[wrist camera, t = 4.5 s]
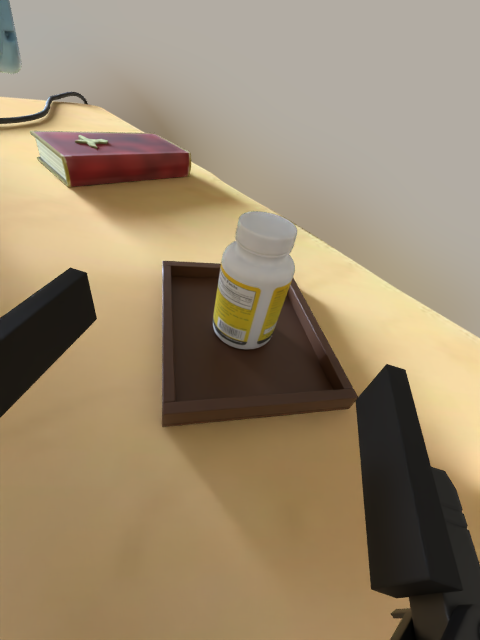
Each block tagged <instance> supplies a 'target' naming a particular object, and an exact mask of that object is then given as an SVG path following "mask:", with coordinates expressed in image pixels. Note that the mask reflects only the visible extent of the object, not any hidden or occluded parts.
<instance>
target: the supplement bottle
mask: <svg viewBox="0 0 480 640" xmlns="http://www.w3.org/2000/svg"><path fill="white" fill-rule="evenodd" d="M296 236H297V228H296V226H295V225H294V224H293V223H291V222H290V221H289V220H287V219H285V218H283V217H281V216H278V215H275V214H271V213H267V212H258V211H253V212H247V213H244V214H242V215H241V216H240V217H239V221H238V225H237V230H236V237H235V239H236V241H234V242H233V243H231V244H230V245H228V246H227V247H226V249H225V251H224V253H223V256H222V260H221V267H220V274H219V281H218V288H217V294H216V301H215V308H214V315H213V328H214V331H215V333H216V335H217V336H218V337H219V338H220V339H221V340H222V341H223V342H224V343H226V344H228V345H230V346H232V347H235V348H238V349H256V348H259V347H261V346H263V345H265V344H266V343H267V342H268V341H269V340H270V338H271V336H272V334H273V331H274V329H275V326H276V323H277V320H278V317H279V315H280V312H281V309H282V306H283V303H284V301H285V298H286V295H287V292H288V290H289V287H290V284H291V282H292V279H293V275H294V271H295V265H294V262H293V259H292V258H291V256H290V255H289V253H290V252H291V250H292V249H293V246H294V242H295V239H296Z"/></svg>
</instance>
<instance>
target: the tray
mask: <svg viewBox="0 0 480 640" xmlns="http://www.w3.org/2000/svg"><path fill="white" fill-rule="evenodd" d="M220 267H221V264H214V263H195V262H176V261H163V274H162V427H167V426H177V425H188V424H198V423H208V422H218V421H229V420H239V419H249V418H259V417H270V416H280V415H290V414H300V413H310V412H321V411H331V410H341V409H349V408H350V406H351V405H352V404H353V403H354V402H355V401H356V399H357V398H358V396H357V394H356V392H355V391H354V389H353V387H352V385H351V383H350V382H349V380H348V378H347V376H346V374H345V372H344V370H343V369H342V367H341V365H340V363H339V361H338V359H337V358H336V356H335V354H334V352H333V350H332V348H331V347H330V345H329V343H328V341H327V339H326V337H325V335H324V334H323V332H322V330H321V328H320V326H319V324H318V323H317V321H316V319H315V317H314V315H313V313H312V312H311V310H310V308H309V306H308V304H307V302H306V300H305V299H304V297H303V295H302V293H301V291H300V289H299V288H298V286H297V284H296V282H295V280H294V278H293V279H292V282H291V284H290V287H289V290H288V292H287V295H286V298H285V301H284V303H283V306H282V309H281V312H280V315H279V317H278V320H277V323H276V326H275V329H274V331H273V334H272V336H271V338H270V340H269V341H268V342H267V343H266V344H265V345H263V346H261V347H259V348H256V349H238V348H235V347H232V346H230V345H228V344H226V343H224V342H223V341H222V340H221V339H220V338H219V337H218V336H217V335H216V333H215V331H214V328H213V315H214V308H215V301H216V294H217V288H218V281H219V274H220Z"/></svg>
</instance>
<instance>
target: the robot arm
mask: <svg viewBox="0 0 480 640" xmlns="http://www.w3.org/2000/svg"><path fill="white" fill-rule="evenodd" d="M21 65H22V63H21V58H20V53H19V47H18V42H17V37H16V32H15V27H14V22H13V17H12V12H11V8H10V2H9V0H0V72H2V73H10V74H14V73H17V72H19V71H20V69H21ZM68 96H77V97H79V98H81V99H82V100H83V101H84V104H88V103H87V101H86V99H85V98H84V97H83V96H82V95H81V94H79V93H76V92H66V93H62V94H59V95H54V96H50V97H49V98H48V100H47V102H46V106H45V108H44V109H43V110H42V111H41V112H38V113H36V114H32V115H27V116H21V117H12V118H0V124H7V123H19V122H26V121H31V120H35V119H39V118H41V117H43V116H45V115H46V114H47V113H48V111H49V110H50V105H51V103H52V101H53V100H57V99H61V98H64V97H68ZM96 319H97V317H96V313H95V308H94V304H93V299H92V295H91V290H90V286H89V281H88V276H87V273H86V272H83V271H79V270H76V269H73V268H69V269H68V270H66V271H65V272H64V273H62V274H61V275H59V276H58V277H57V278H55V279H54V280H53V281H51V282H50V283H48V284H47V285H46V286H44V287H43V288H41V289H40V290H39V291H37V292H36V293H34V294H33V295H32V296H30V297H29V298H27V299H26V300H25V301H23V302H22V303H20V304H19V305H18V306H16V307H15V308H14V309H12V310H11V311H9V312H8V313H7V314H5V315H4V316H2V317H1V318H0V417H1V416H2V415H3V414H4V413H5V412H6V411H7V410H8V409H9V408H10V407H11V406H12V405H13V404H14V403H15V402H16V401H17V400H18V399H19V398H20V397H21V396H22V395H23V394H24V393H25V392H26V391H27V390H28V389H29V388H30V387H31V386H32V385H33V384H34V383H35V382H36V381H37V380H38V379H39V378H40V377H41V376H42V375H43V374H44V373H45V371H46V370H47V369H48V368H49V367H50V366H51V365H52V364H53V363H54V362H55V361H56V360H57V359H58V358H59V357H60V356H61V355H62V354H63V353H64V352H65V351H66V350H67V349H68V348H69V347H70V346H71V345H72V344H73V343H74V342H75V341H76V340H77V339H78V338H79V337H80V336H81V335H82V334H83V333H84V332H85V331H86V330H87V329H88V328H89V327H90V326H91V325H92V323H93V322H94V321H95V320H96ZM356 410H357V423H358V435H359V447H360V459H361V471H362V484H363V496H364V508H365V520H366V533H367V545H368V557H369V569H370V581H371V589H372V590H375V591H378V592H380V593H383V594H386V595H389V596H392V597H395V598H404V597H409V601H410V607H411V608H407V609H396V610H395V611H393V612H392V613H391V615H392V616H393V618H402V620H401V621H400V623H399V625H398V627H397V628H396V630H395V632H394V634H393V635H392V637H391V639H390V640H480V564H479V561H478V558H477V555H476V552H475V548H474V545H473V542H472V539H471V535H470V532H469V530H467V523H466V519H465V516H464V514H463V513H462V506H461V503H460V500H459V497H458V494H457V490H456V489H455V487H454V485H453V484H452V482H451V480H450V479H449V477H448V475H447V474H446V472H445V471H443V470H440V469H437V468H433V467H431V465H430V461H429V458H428V454H427V450H426V446H425V442H424V439H423V435H422V431H421V427H420V423H419V420H418V416H417V412H416V408H415V404H414V401H413V397H412V393H411V389H410V385H409V382H408V378H407V374H406V370H404V369H401V368H398V367H395V366H391V365H388V364H386V365H385V367H384V368H383V369H382V370H381V371H380V372H379V374H378V375H377V376H376V377H375V378H374V379H373V381H372V382H371V383H370V384H369V385H368V387H367V388H366V389H365V390H364V391H363V392H362V394H361V395H360V396H359V397H358V398H357V399H356Z"/></svg>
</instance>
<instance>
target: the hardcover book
mask: <svg viewBox="0 0 480 640" xmlns="http://www.w3.org/2000/svg"><path fill="white" fill-rule="evenodd" d="M30 133H31V135H33V136H34V137H35V138H36V142H37V146H38V150H39V153H40V157H37V159H38V160H39V161H40V162H41V163H42V164H43V165H44V166H45V167H46V168H47V169H48V170H50V171H51V172H52V173H53V174H54V175H55V176H56V177H57V178H58V179H59V180H61V181H62V182H63V183H64V184H65V185H66V186H67V187H74V186H85V185H96V184H108V183H119V182H130V181H141V180H152V179H163V178H174V177H185V176H189V175H190V170H191V154H190V152H188V151H187V150H184V149H183V148H181V147H179V146H177V145H175V144H173V143H172V142H170V141H168V140H166V139H164V138H162V137H160V136H158V135H157V134H154V133H115V132H63V131H30Z"/></svg>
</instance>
